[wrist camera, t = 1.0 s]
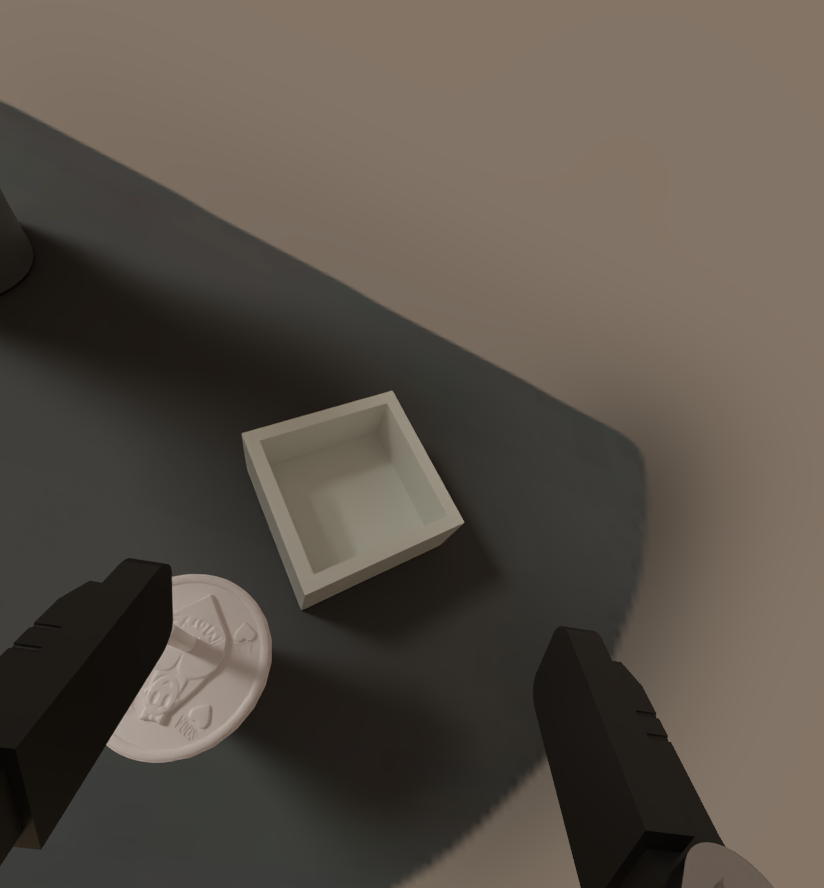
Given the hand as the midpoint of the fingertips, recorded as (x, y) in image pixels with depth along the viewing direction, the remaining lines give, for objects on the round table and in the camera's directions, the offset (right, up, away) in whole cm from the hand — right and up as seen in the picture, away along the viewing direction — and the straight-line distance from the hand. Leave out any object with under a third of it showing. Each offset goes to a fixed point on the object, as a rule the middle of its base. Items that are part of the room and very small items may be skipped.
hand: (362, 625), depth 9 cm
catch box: (-4, -1, +22) cm, 22 cm away
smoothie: (-10, -9, +16) cm, 20 cm away
